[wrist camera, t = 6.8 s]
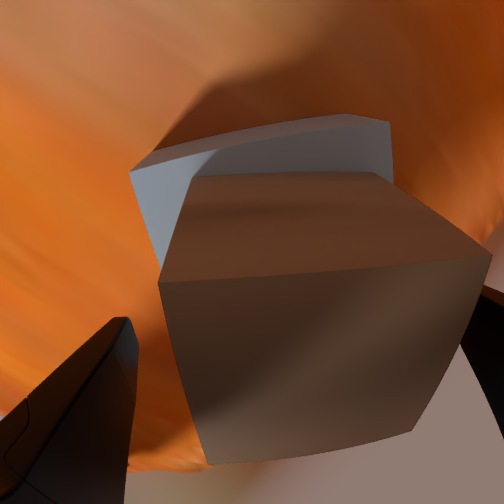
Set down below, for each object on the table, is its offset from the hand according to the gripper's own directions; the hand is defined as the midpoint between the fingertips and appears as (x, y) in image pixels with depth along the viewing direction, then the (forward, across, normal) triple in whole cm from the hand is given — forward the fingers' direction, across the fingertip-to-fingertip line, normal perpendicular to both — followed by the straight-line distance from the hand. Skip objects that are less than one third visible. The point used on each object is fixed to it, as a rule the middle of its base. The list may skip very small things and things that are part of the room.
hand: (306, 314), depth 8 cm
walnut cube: (+3, 0, 0) cm, 3 cm away
